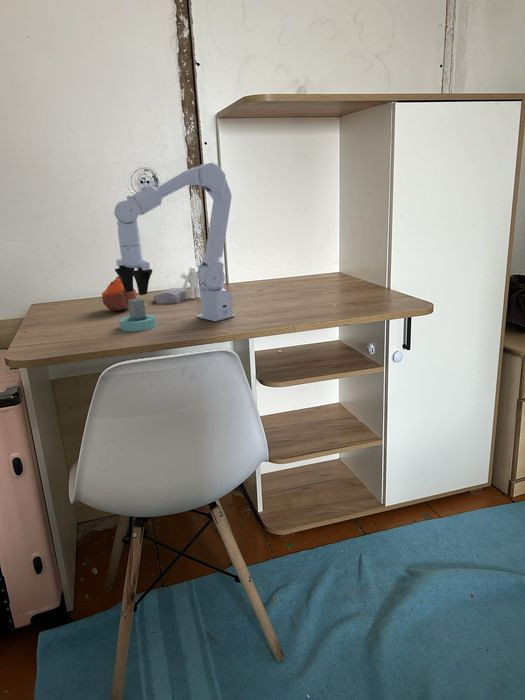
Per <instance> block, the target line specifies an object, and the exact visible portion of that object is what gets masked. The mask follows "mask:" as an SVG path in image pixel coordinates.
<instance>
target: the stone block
mask: <svg viewBox="0 0 525 700" xmlns="http://www.w3.org/2000/svg"><path fill="white" fill-rule="evenodd" d="M188 295H189V292H188V288H186V287H185V289H184V288H183V287H182V288H181V287H180V288H179V287H172V288H169V289H164V290H162V291H159V292H158V294H155V295H153V299H154V300H153V301H154V302H155V304H159V305H160V304H162V305H163V304H179V303H181V302H182V301H184V300H185V299H186V298H187V297H188Z"/></svg>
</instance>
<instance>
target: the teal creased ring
mask: <svg viewBox="0 0 525 700" xmlns="http://www.w3.org/2000/svg"><path fill="white" fill-rule="evenodd" d="M145 314H146V313H145ZM156 326H157V320H156V316H155V315H153V314H146V319H145V320H141V321H131V319H130V315H127V316H124V317H121V318H120V319H119V328H120V330H121V331H122V332H128V333H130V332H143V331H148V330H151V329H153V328H155V327H156Z"/></svg>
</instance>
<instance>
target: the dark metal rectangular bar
mask: <svg viewBox="0 0 525 700" xmlns="http://www.w3.org/2000/svg"><path fill="white" fill-rule="evenodd" d="M128 303H129V307H128V309H129V316H130V319H131V321H141V320H145V319H146V308H145V299H143V298H139V297H138V298H137V297H136V299H132V300H128Z"/></svg>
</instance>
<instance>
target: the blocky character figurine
mask: <svg viewBox="0 0 525 700" xmlns="http://www.w3.org/2000/svg"><path fill="white" fill-rule="evenodd" d="M201 264H202V262H199V263H196V264H195V265H193V266H192V265H191V266H190V267H189V269H188V273H187V271H183V272H181V274H180V279H181V280H182V278H183V279H184V283H183V286H182V289H185V288H186V287H188V284H189V290H190V294H189V296H190V297H189V299H195V298H198V299H199V298H200V284H199V283H200V280H199V279H198V276H197V271H198V269H199V268H198V267H200V266H201ZM195 291H196V293H195ZM195 294H196V296H195ZM200 299H201V298H200Z"/></svg>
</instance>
